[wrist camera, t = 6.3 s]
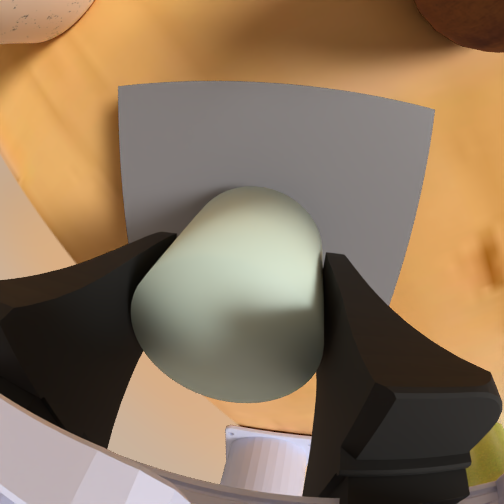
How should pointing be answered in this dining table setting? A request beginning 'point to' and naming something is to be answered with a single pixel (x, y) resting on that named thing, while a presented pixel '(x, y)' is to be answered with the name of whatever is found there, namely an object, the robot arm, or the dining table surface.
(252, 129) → the gray square block
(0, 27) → the teacup with lid
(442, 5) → the wooden figurine
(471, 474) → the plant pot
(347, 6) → the dining table surface
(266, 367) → the sage cylinder
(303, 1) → the dining table surface
